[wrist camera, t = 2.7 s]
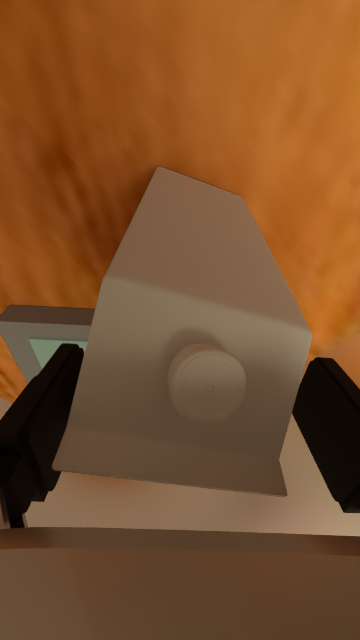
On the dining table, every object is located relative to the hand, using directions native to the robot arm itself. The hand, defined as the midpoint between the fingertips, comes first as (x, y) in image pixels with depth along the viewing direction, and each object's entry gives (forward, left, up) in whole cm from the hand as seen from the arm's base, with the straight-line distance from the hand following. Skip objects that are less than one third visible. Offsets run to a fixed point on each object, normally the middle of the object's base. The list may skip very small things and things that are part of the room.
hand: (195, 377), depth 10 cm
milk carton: (-2, 0, -15) cm, 15 cm away
